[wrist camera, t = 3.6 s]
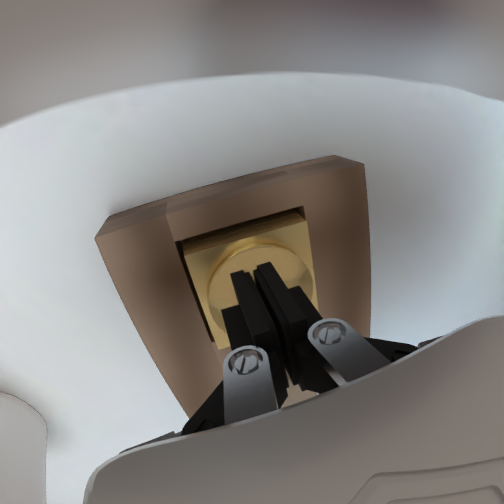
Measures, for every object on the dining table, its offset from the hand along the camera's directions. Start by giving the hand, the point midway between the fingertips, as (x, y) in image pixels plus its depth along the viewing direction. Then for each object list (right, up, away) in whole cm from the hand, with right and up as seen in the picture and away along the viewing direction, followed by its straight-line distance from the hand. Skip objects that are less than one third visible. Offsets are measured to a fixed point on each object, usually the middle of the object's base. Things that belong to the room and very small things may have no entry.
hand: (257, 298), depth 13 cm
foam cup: (-21, -12, +6) cm, 25 cm away
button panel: (+1, -7, +9) cm, 11 cm away
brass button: (-1, +1, +3) cm, 4 cm away
